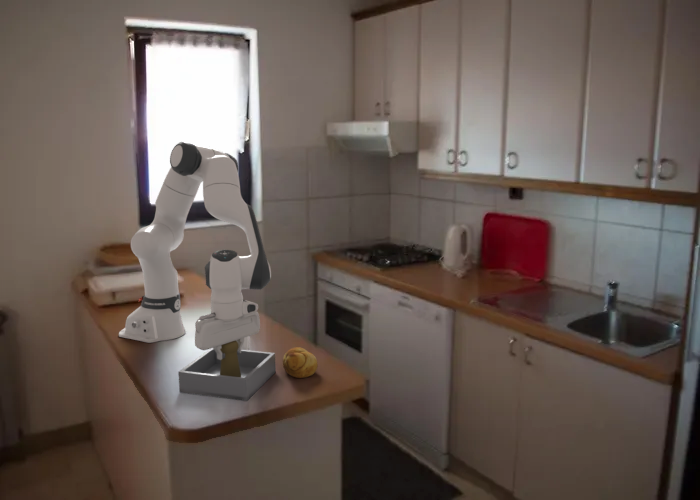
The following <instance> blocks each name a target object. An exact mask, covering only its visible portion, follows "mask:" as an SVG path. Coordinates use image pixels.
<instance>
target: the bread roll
mask: <svg viewBox="0 0 700 500" xmlns="http://www.w3.org/2000/svg"><path fill="white" fill-rule="evenodd" d="M318 365H319V364H318V360H317V357H316V356H315V355H314V354H313V353H312V352H309V351H308V350H307V349H305V348H303V347H300V346H299V347H298V346H297V347H292V348H289V349H288V350H287V351H286V352H285V353H284V355H283V359H282V366H283V369H284V371H285V372H286V374H287V375H289V376H290V377H292V378H295V379H302V378H303V379H305V378H308V377H311V376H313V375H314V374H315V373H316V372H317V370H318V367H319V366H318Z"/></svg>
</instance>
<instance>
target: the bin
mask: <svg viewBox="0 0 700 500" xmlns="http://www.w3.org/2000/svg"><path fill="white" fill-rule="evenodd" d="M237 356H238V362H239V367H240V373H241V377H232V376H224V375H220V369H221V360H219V359H217V353H216V352H215V350H214V349H213V348H211V349H208V350H205V352H204V353H202V354H201V355H200V356H198V357H197V358H195V359H194V360H192V361H191V362H190V363H188V364H187V365H186V366H184V367H183V368H182V369H180V370H179V371H178V386H179V389H178V390H179V393H182V394H189V395H197V396H205V397H212V398H221V399H228V400H234V401H235V400H237V401H244V402H245V401H246V402H248V401H249V399H251V398H252V396H253V395H254V394H255V393H257V392H258V390H259V389H261V387H263V386H264V385H265V384H266V382H268V381H269V379H271V377H273V376H274V374H276V353H275V352H269V351H260V350H251V349H249V350H241V353H240V354H237Z"/></svg>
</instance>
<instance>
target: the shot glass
mask: <svg viewBox="0 0 700 500" xmlns="http://www.w3.org/2000/svg"><path fill="white" fill-rule="evenodd" d="M250 345H251V336H248V337H245V338H244V343H243V345H242V347H241V350H250Z"/></svg>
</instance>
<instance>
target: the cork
mask: <svg viewBox="0 0 700 500" xmlns="http://www.w3.org/2000/svg"><path fill="white" fill-rule="evenodd" d="M221 346H222V348H221V349H220V350H221V352H223V353H225V359H222V360H221V369H220V375H224V376H232V377H241V373H240V367H239V362H238V356H237V350H238V342H237V341H236V340H235V341H232V342H229V343H226V344H223V345H221Z"/></svg>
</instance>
